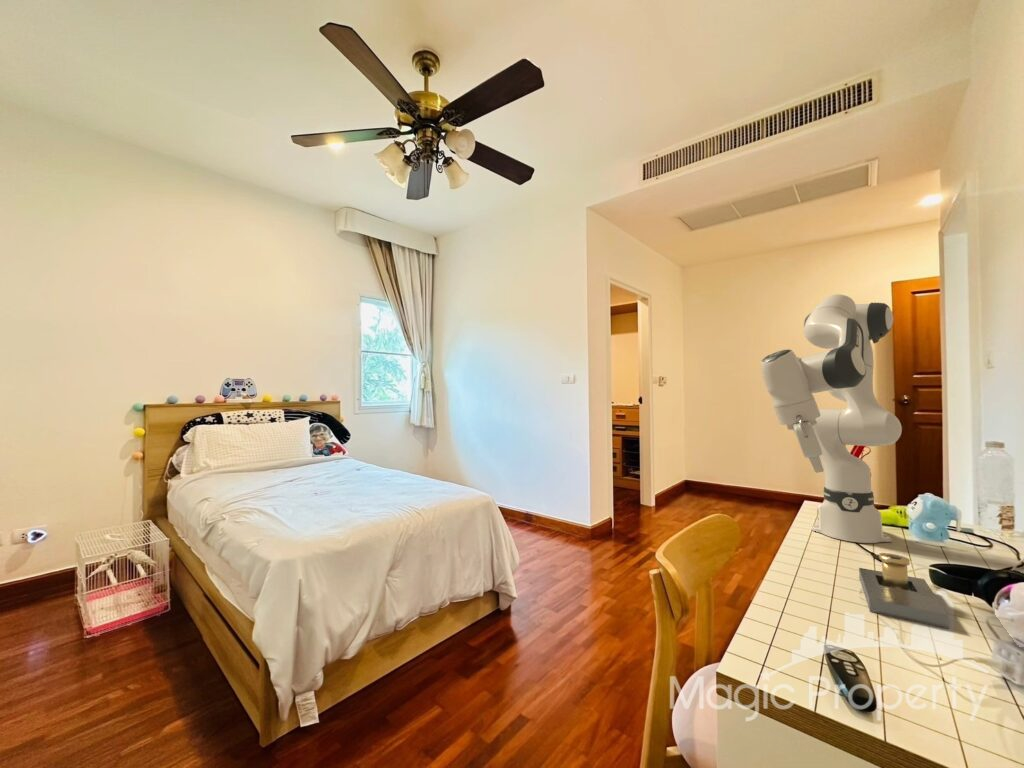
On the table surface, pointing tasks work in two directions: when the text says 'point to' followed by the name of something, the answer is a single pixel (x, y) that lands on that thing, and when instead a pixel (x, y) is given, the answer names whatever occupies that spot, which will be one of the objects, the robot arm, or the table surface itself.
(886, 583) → the bushing
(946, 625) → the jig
